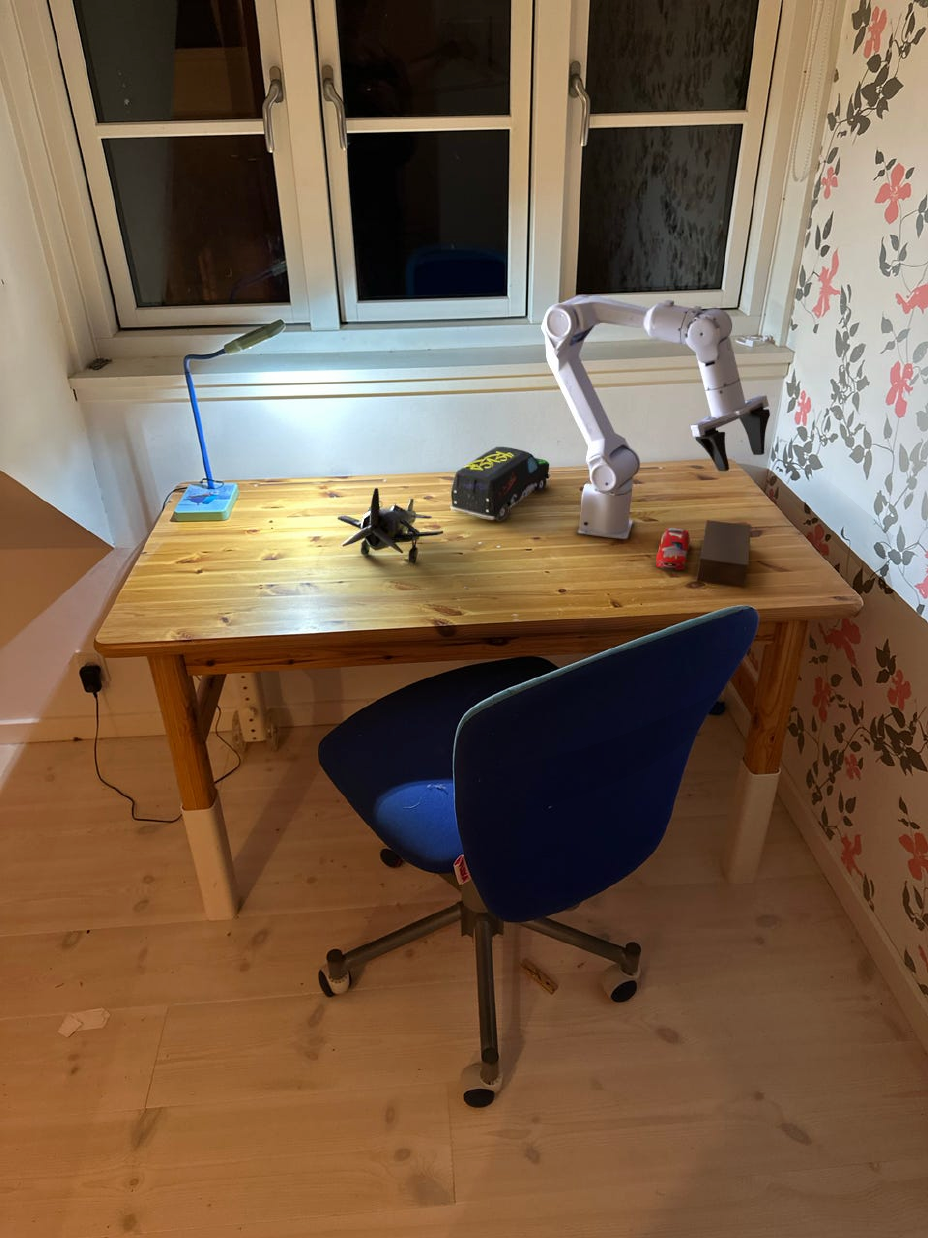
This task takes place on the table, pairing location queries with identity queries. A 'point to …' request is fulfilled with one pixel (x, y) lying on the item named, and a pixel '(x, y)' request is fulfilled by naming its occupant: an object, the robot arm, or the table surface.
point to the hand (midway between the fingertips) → (741, 462)
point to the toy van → (497, 482)
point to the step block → (724, 553)
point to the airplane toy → (387, 528)
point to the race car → (673, 549)
